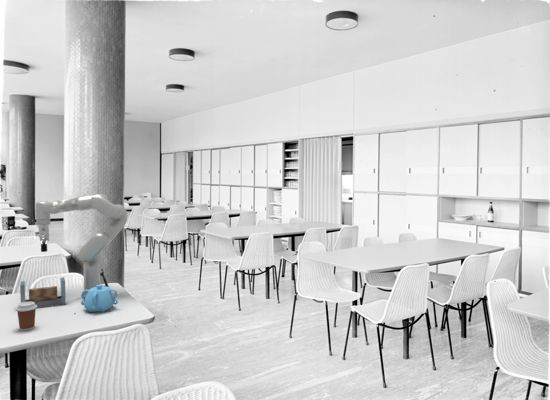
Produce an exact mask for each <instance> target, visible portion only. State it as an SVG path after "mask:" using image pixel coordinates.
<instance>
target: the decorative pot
mask: <svg viewBox="0 0 550 400" xmlns="http://www.w3.org/2000/svg"><path fill="white" fill-rule="evenodd" d="M84 292H88V293H87V295H86V298H85V297H84ZM113 292H114V294H113ZM117 293H118V291H117V290H116V289H114V288H110V287H105V285H103V284H101V285H96V287H93V288H91V289H90V290H84V289H83V291H82V292H81V294H82V300H81V302H80V305H81V306H84V309H85V310H86V311H87V312H89V313H94V312H101V313H105V312H107V310H109V309H112V307H113V306H114V305H118V303H119V301H118V299H117V295H118V294H117Z"/></svg>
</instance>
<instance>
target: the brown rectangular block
mask: <svg viewBox="0 0 550 400" xmlns="http://www.w3.org/2000/svg"><path fill="white" fill-rule="evenodd" d="M57 296H58V286H57V285H53V286H45V287H44V286H43V287H37V288H36V287H35V288H29V289H28V297H29V298H28V299H29V302H35V301H44V300H52V299H57Z"/></svg>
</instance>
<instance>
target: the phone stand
mask: <svg viewBox="0 0 550 400" xmlns="http://www.w3.org/2000/svg"><path fill="white" fill-rule="evenodd" d="M100 271H101V272H100V277H102V280H103V283H104V286H105V287H109V283H108V281H107V278H106V276H105V275H104V273H105V271H104V269H103V268H100ZM109 288H110V287H109Z"/></svg>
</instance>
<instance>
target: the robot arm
mask: <svg viewBox="0 0 550 400" xmlns="http://www.w3.org/2000/svg"><path fill="white" fill-rule="evenodd" d="M87 210H89V211H90V210H96V211H97V212H98V213H100V214H102V215H103V216H105V217H106V218H108V219H111V220H110V221H109V222H108V223H107V224H106V225H105V226H104V227H103V228H102V229H101V230H100V231H99V232H97V233H95V234H94V235H92V236H91V238H89V240H88V241H87V242H85V244H84V245H83V246H82V247H81V248H80V250H79V251H78V258H79V260H80V261H81V262H83V268H82V269H83V291H84V290H90V289H91V288H93V287H96V285H102V284H101V282H102V281H101V276H100V273H101V258H102V251H103V250H104V249H105V248H106V247H108V246H109V245H110V244H111V242H112V241H113V240H114V239H115V238H116V237H117V235H118V234H119V233H120V232H121V231H122V229H123V228H124V227H125V226H126V224H127V221H128V212H127V209H126V208H125V206H123V205H122V204H120V203H119V204H118V203H117V204H114V203H112V202H111V201H110V200H109V199H108V196H107V195H105V194H104V193H96V194H90V195H83V196H82V195H81V196H77V197H74V198H68V199H60V200H54V201H43V200H42V201H36V202H35V221H36V222H35V223H36V224H35V225H36V226H38V237H39V241H40V251H41V253H43V252H44V253H45V252H48V242H49V241H50V228H49V225H51V214H52V215H57V214H61V213H65V212H66V213H67V212H72V211H74V212H75V211H79V212H81V211H87ZM47 241H48V242H47ZM87 293H88V292H84V297H85V298H86V295H87ZM80 295H81V296H80V297H82V293H81V294H80Z"/></svg>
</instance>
